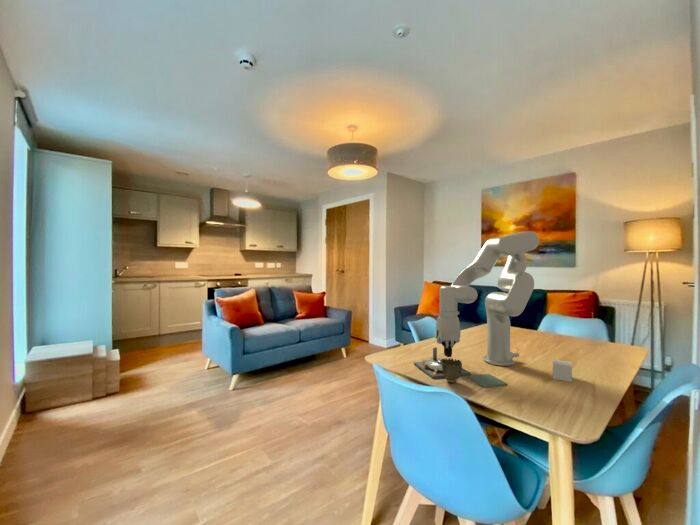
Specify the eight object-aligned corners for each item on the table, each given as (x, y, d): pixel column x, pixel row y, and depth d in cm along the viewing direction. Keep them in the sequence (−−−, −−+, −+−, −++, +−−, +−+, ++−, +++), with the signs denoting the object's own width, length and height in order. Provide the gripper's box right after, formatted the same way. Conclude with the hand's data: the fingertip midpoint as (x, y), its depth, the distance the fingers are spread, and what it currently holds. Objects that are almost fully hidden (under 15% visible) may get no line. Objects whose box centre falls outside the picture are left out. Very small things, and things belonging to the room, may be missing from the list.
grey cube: (552, 378, 118) (552, 363, 118) (553, 374, 123) (553, 359, 123) (571, 382, 114) (571, 366, 114) (571, 377, 119) (571, 362, 119)
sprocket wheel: (447, 359, 136) (447, 345, 136) (468, 371, 121) (468, 355, 121) (415, 361, 133) (415, 347, 133) (433, 374, 118) (433, 357, 118)
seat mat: (488, 375, 121) (488, 373, 121) (507, 385, 111) (507, 383, 111) (466, 377, 118) (466, 375, 118) (483, 387, 109) (483, 385, 109)
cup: (463, 387, 109) (463, 364, 109) (442, 385, 111) (442, 363, 111) (460, 379, 116) (460, 358, 116) (440, 377, 118) (440, 357, 118)
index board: (447, 361, 137) (447, 359, 137) (470, 375, 121) (470, 371, 121) (413, 364, 133) (413, 361, 133) (432, 378, 117) (432, 375, 117)
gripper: (458, 312, 138) (458, 352, 138) (428, 313, 134) (428, 354, 134) (468, 315, 130) (468, 357, 130) (437, 316, 127) (436, 360, 127)
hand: (447, 356), depth 132 cm, fingers closed
